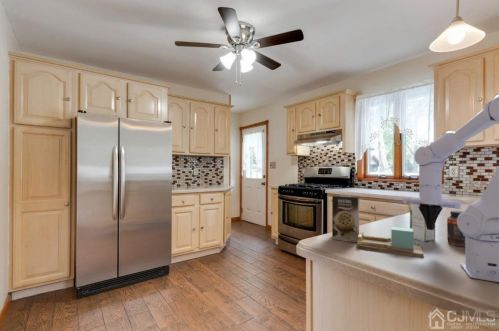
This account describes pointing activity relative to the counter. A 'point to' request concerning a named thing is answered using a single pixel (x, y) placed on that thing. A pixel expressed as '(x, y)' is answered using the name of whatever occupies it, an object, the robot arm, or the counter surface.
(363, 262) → the counter surface
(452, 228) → the supplement bottle
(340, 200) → the cookie box
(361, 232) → the slide board
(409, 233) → the teal block
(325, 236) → the counter surface
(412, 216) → the syrup box
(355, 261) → the counter surface
